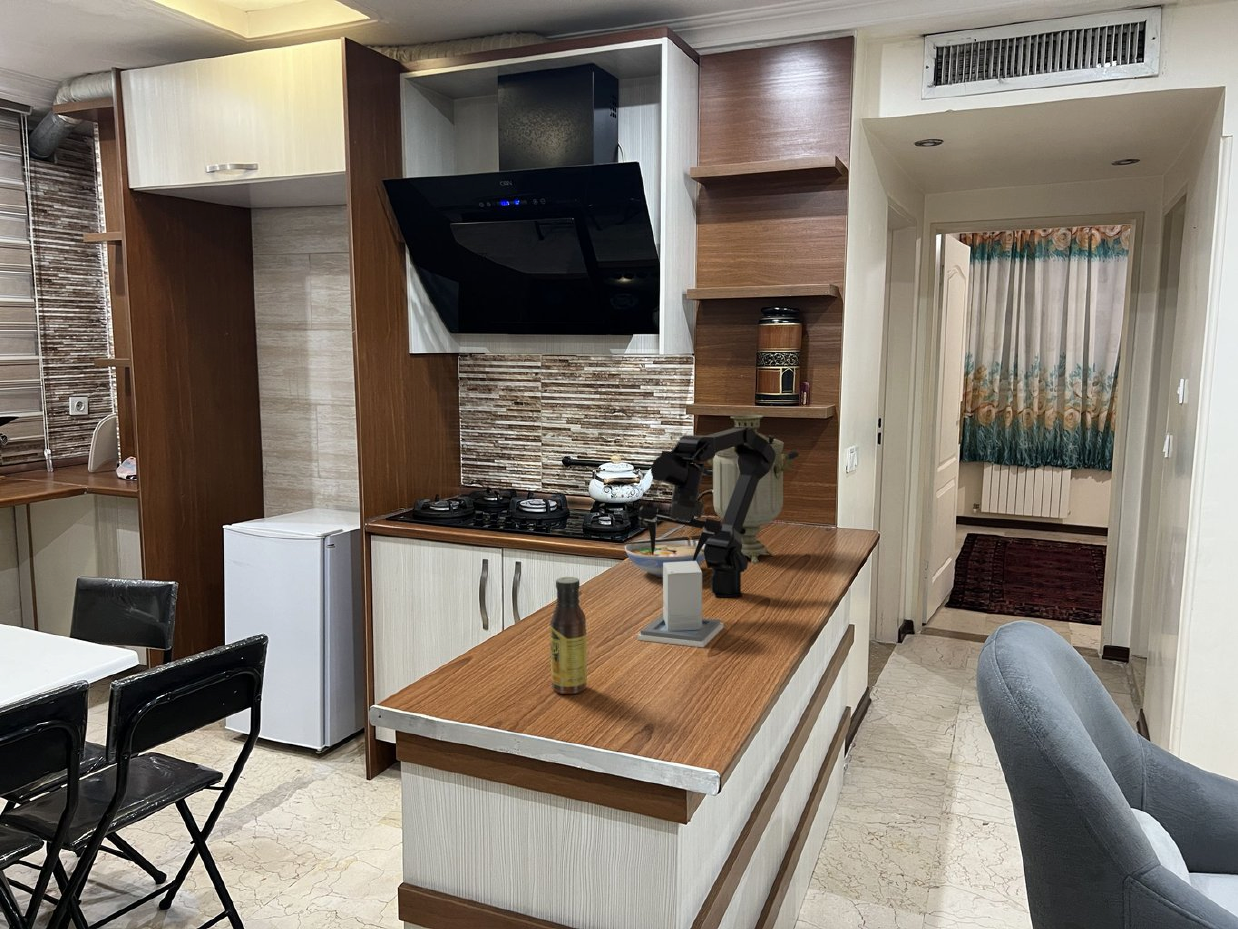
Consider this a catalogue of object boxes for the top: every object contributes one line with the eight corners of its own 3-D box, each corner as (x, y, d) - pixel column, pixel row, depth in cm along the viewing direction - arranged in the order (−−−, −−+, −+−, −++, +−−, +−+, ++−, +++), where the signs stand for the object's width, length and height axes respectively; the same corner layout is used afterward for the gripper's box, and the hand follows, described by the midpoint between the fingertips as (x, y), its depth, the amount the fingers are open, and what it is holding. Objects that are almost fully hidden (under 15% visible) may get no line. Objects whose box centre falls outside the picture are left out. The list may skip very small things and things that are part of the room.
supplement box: (702, 630, 191) (703, 572, 188) (667, 631, 191) (666, 573, 188) (697, 615, 198) (697, 560, 195) (662, 617, 198) (662, 561, 195)
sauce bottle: (551, 683, 165) (548, 574, 162) (586, 682, 165) (584, 573, 163) (551, 697, 158) (549, 584, 156) (588, 696, 159) (586, 582, 156)
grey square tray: (661, 621, 202) (661, 613, 202) (723, 627, 197) (723, 619, 196) (637, 639, 189) (637, 631, 189) (703, 647, 184) (703, 638, 184)
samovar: (826, 558, 259) (828, 415, 254) (756, 572, 244) (757, 420, 239) (753, 541, 283) (754, 410, 278) (686, 553, 269) (685, 415, 264)
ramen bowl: (634, 589, 229) (634, 556, 228) (610, 568, 251) (610, 538, 250) (728, 581, 236) (728, 549, 235) (697, 561, 258) (697, 532, 257)
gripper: (644, 477, 202) (630, 548, 200) (729, 494, 200) (715, 566, 198) (646, 483, 213) (632, 550, 211) (726, 499, 211) (713, 567, 209)
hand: (672, 558), depth 207 cm, fingers open, 9 cm apart
